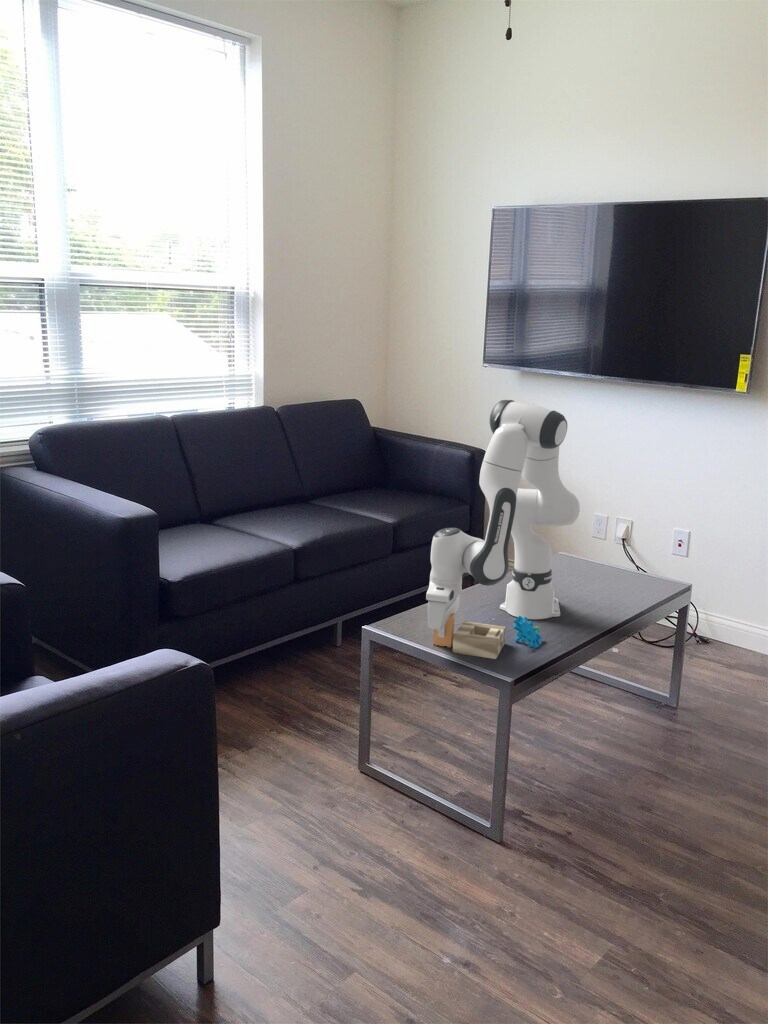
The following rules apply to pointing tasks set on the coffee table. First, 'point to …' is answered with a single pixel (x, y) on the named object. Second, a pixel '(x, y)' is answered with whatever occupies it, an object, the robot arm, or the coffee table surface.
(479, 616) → the coffee table surface
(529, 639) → the gear
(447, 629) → the key peg
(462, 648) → the block
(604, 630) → the coffee table surface
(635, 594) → the coffee table surface
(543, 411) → the robot arm
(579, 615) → the coffee table surface
